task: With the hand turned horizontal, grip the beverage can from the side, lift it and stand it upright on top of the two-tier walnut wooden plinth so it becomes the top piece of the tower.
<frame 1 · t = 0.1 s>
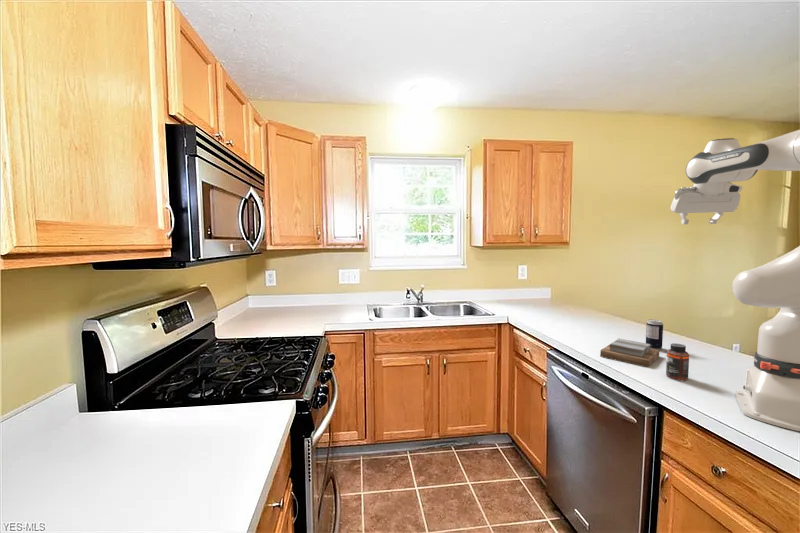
hand: (698, 223, 129), 52 cm above the counter, tool tilted 20°, fingers open, 8 cm apart
plinth: (629, 356, 138), on the counter
supplement bottle: (676, 378, 118), on the counter
beverage can: (653, 348, 147), on the counter
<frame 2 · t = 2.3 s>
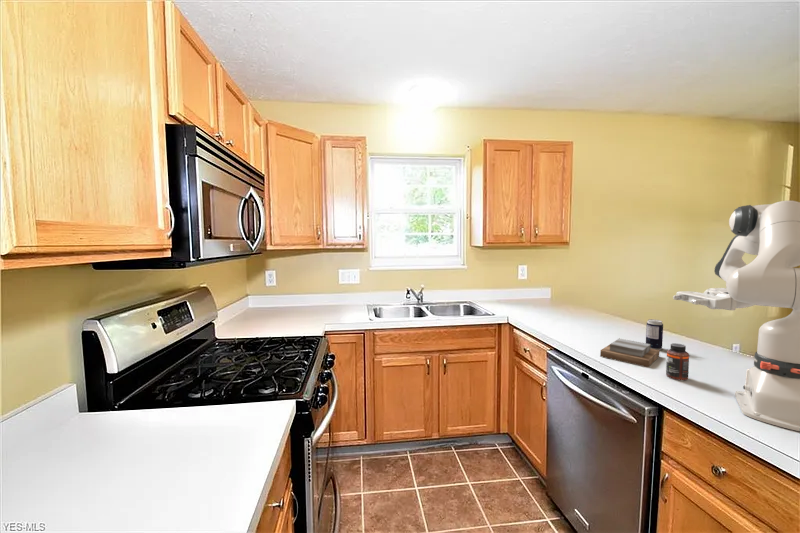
hand: (683, 299, 146), 21 cm above the counter, tool horizontal, fingers open, 8 cm apart
nothing on the counter moved.
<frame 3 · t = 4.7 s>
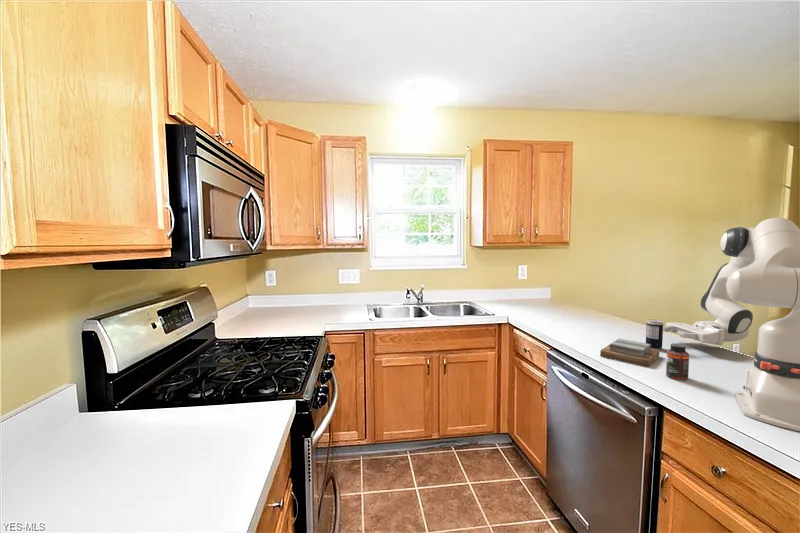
hand: (672, 332, 147), 7 cm above the counter, tool horizontal, fingers open, 8 cm apart
nothing on the counter moved.
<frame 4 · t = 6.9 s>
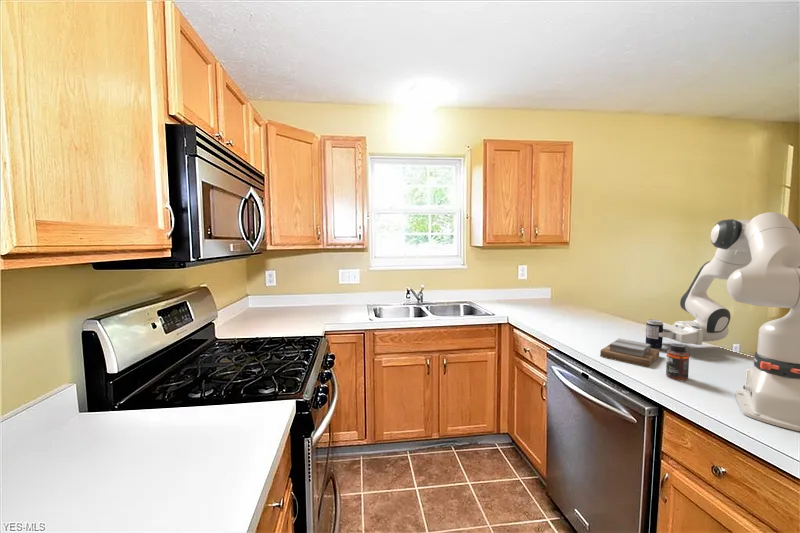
hand: (652, 332, 147), 7 cm above the counter, tool horizontal, fingers closed on beverage can, 6 cm apart
beverage can: (653, 348, 147), on the counter, touching gripper
everything else where it was.
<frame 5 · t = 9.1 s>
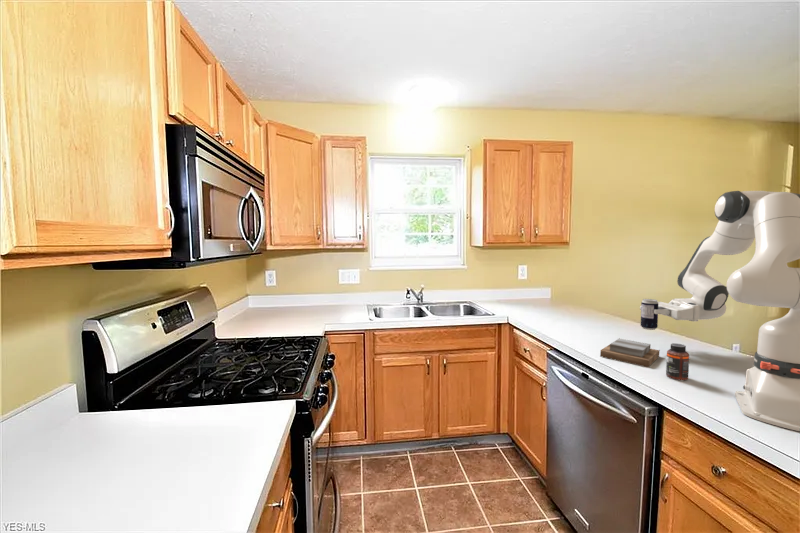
hand: (647, 309, 143), 17 cm above the counter, tool horizontal, fingers closed on beverage can, 6 cm apart
beverage can: (648, 329, 143), point 9 cm above the counter, touching gripper
everything else where it was.
when the fingers open (14 cm above the counter, at t = 11.4 s): beverage can stays where it is, resting on plinth.
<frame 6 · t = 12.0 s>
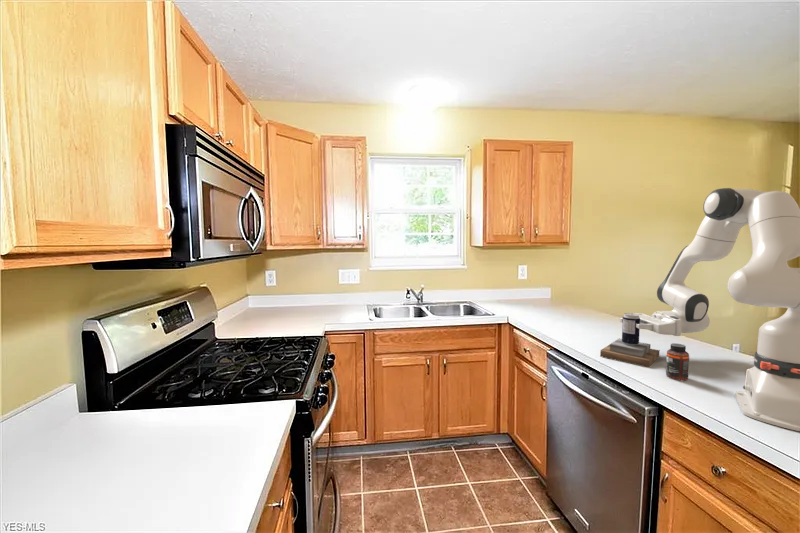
hand: (628, 323, 137), 14 cm above the counter, tool horizontal, fingers open, 8 cm apart
beverage can: (630, 344, 138), point 5 cm above the counter, touching plinth
everything else where it was.
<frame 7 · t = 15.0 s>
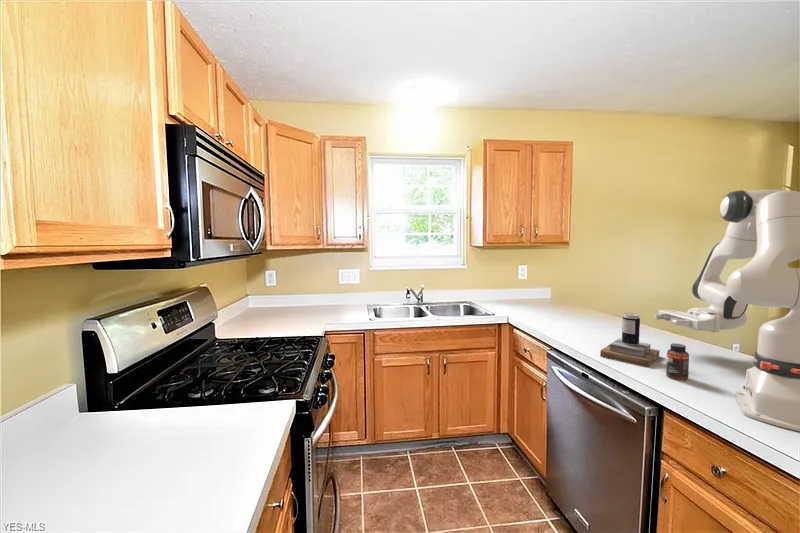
hand: (664, 319, 136), 15 cm above the counter, tool horizontal, fingers open, 8 cm apart
nothing on the counter moved.
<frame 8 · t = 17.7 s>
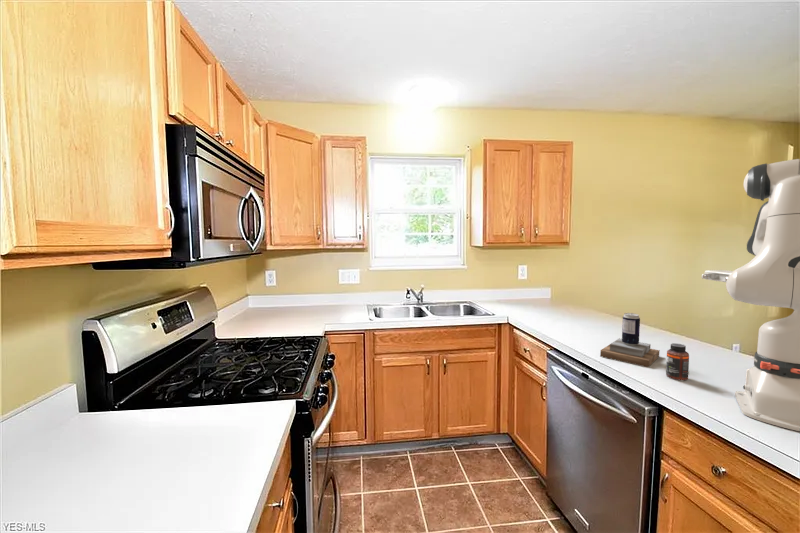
hand: (714, 278, 128), 32 cm above the counter, tool horizontal, fingers open, 8 cm apart
nothing on the counter moved.
at the end: beverage can inside the target area on the plinth (0.1 cm from its centre), point 4.8 cm above the plinth's base; beverage can tilted 0°; the gripper is holding nothing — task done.
